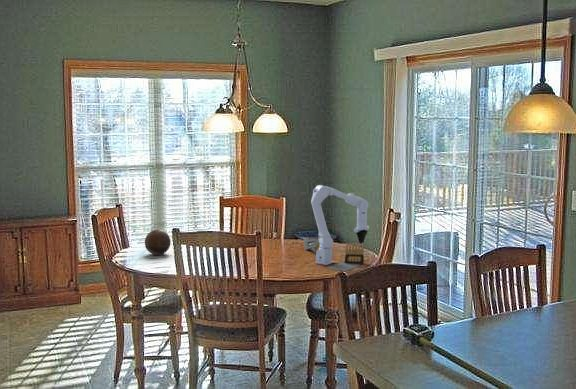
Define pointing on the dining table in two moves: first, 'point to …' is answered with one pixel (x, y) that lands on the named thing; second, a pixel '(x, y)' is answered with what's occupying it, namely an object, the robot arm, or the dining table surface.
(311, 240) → the gun
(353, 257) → the ammunition clip
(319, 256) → the robot arm
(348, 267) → the mat
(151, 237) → the wooden sphere
